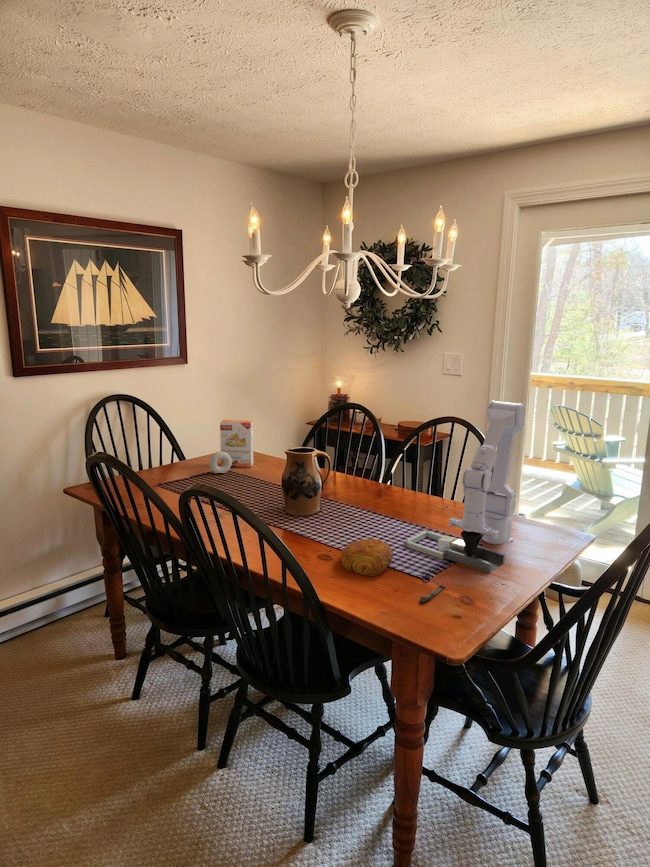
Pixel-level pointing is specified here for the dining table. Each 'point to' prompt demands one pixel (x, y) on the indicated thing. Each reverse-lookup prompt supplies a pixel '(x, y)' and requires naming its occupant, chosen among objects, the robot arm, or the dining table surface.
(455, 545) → the cream cube
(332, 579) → the dining table surface
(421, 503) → the dining table surface
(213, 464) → the donut
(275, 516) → the dining table surface
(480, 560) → the rail
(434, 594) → the tactical tomahawk
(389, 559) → the croissant
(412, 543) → the tray
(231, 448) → the cracker box
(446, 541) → the beige cube
